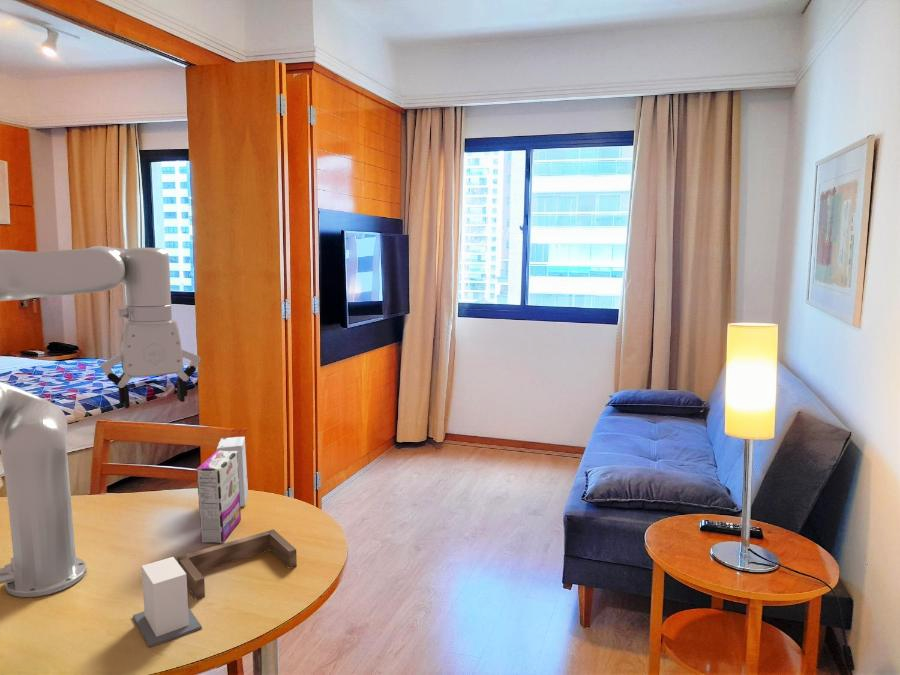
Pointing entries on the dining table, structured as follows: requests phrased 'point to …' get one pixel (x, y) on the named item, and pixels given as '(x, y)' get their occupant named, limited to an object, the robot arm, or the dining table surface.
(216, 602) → the dining table surface
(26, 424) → the robot arm
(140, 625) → the rubber mat
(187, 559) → the frame
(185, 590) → the white box
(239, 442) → the skincare box
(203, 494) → the candy bar box
